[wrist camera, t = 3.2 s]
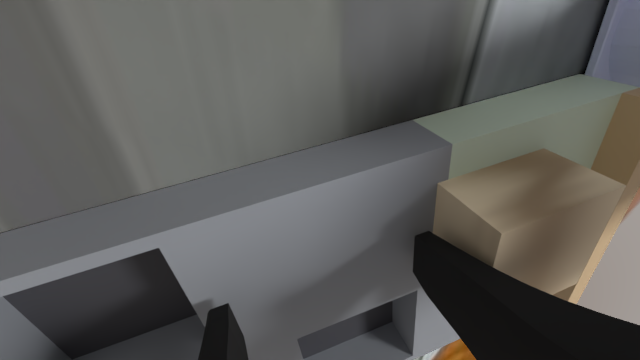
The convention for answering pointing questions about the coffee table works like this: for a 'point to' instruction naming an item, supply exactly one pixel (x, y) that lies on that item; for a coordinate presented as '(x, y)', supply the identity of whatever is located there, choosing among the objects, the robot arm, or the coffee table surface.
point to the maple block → (528, 217)
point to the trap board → (296, 239)
